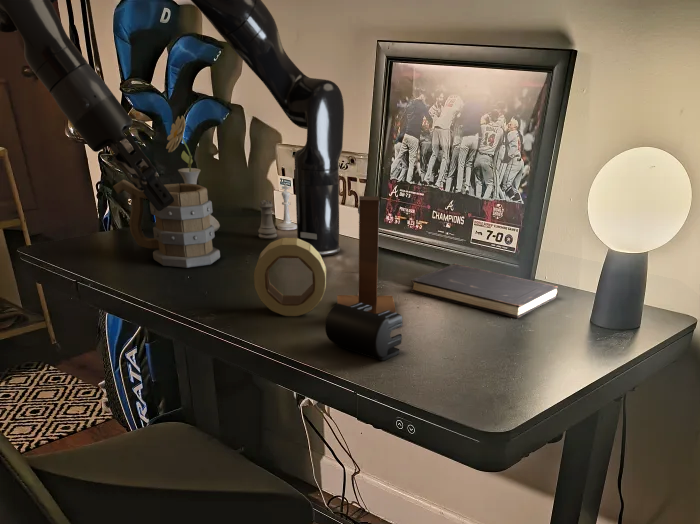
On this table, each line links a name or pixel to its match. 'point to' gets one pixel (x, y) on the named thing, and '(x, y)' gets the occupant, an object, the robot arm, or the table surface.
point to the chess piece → (286, 212)
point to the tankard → (176, 226)
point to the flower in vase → (186, 159)
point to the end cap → (364, 330)
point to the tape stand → (368, 260)
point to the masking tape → (290, 303)
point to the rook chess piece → (267, 221)
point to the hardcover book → (485, 290)
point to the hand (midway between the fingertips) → (166, 206)
